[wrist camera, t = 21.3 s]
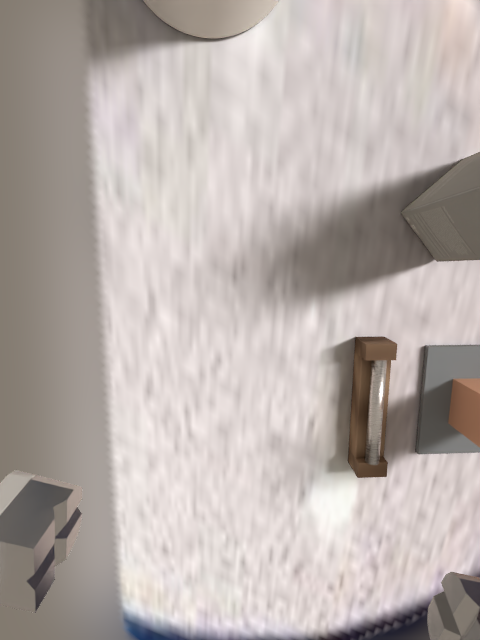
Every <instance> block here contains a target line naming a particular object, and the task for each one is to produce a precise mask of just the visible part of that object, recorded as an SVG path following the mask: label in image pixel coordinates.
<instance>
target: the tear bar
mask: <svg viewBox="0 0 480 640" xmlns="http://www.w3.org/2000/svg"><path fill="white" fill-rule="evenodd" d="M396 353H397V344H396V343H395V342H393V341H391V340H389V339H387V338H385V337H355V353H354V369H353V386H352V403H351V420H350V436H349V453H348V462H349V464H350V466H351V467H352V469H353V471H354V472H355V474H356V476H357V477H358V478H362V477H387V464H388V462H387V461H386V460H385V458H384V445H385V432H386V419H387V406H388V394H389V381H390V368H391V360H396Z"/></svg>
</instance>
